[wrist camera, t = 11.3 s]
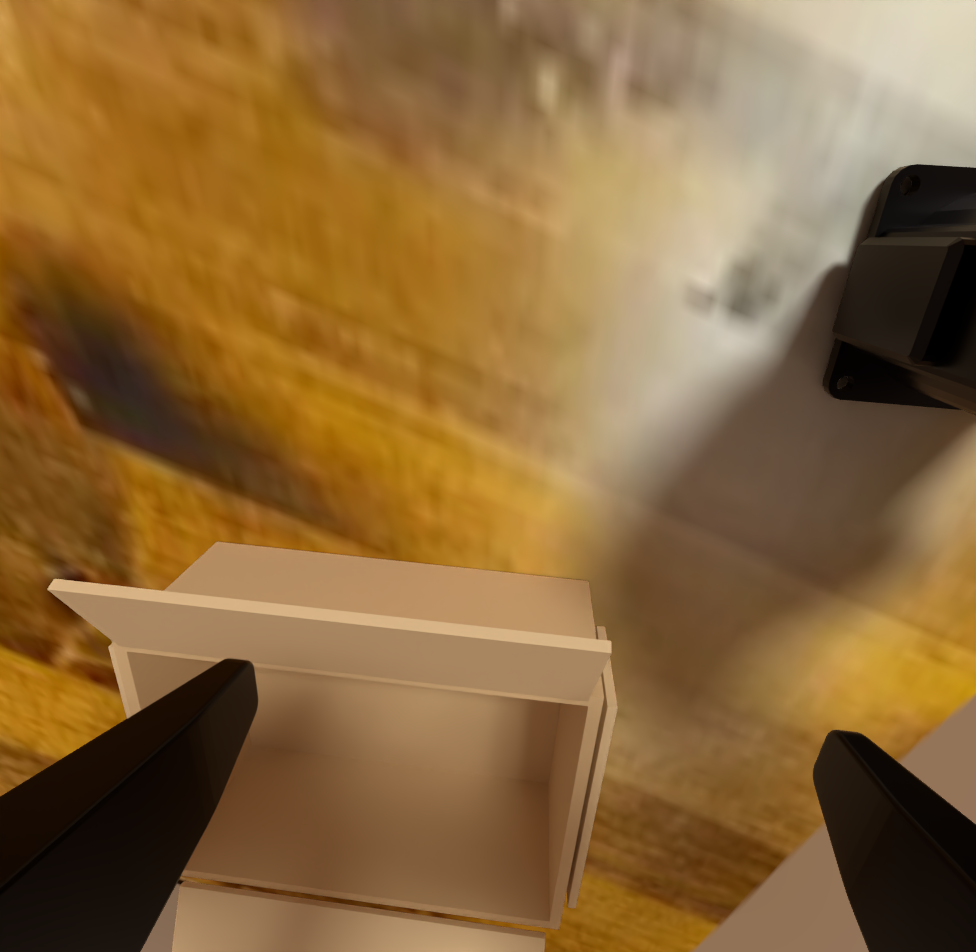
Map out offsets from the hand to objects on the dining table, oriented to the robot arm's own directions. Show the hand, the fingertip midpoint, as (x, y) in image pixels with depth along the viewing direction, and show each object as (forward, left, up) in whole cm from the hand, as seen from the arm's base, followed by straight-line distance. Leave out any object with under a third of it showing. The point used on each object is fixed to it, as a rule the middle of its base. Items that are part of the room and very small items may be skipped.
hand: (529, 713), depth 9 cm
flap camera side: (+5, +18, -5) cm, 20 cm away
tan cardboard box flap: (+5, +4, -5) cm, 8 cm away
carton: (+5, +11, -12) cm, 17 cm away
